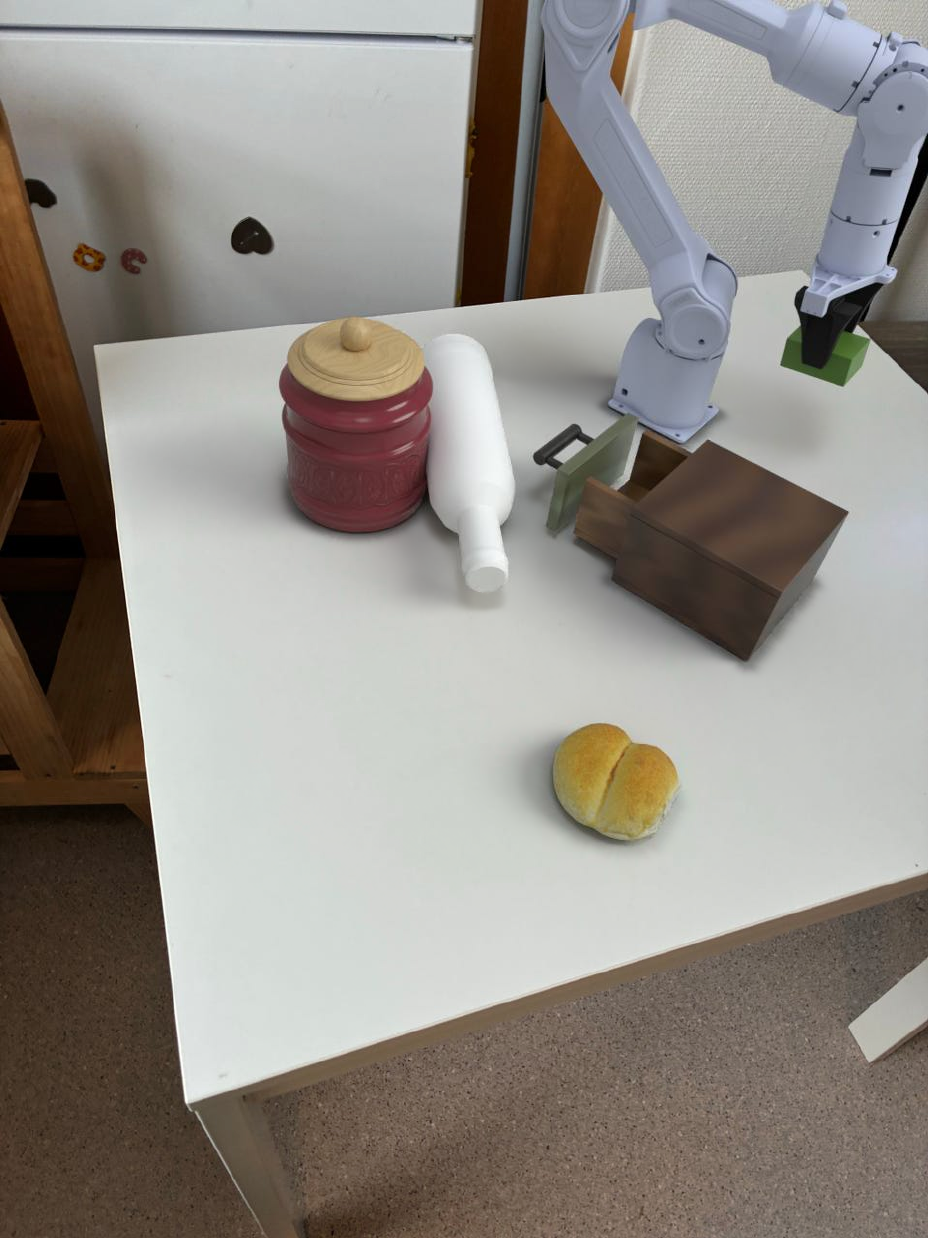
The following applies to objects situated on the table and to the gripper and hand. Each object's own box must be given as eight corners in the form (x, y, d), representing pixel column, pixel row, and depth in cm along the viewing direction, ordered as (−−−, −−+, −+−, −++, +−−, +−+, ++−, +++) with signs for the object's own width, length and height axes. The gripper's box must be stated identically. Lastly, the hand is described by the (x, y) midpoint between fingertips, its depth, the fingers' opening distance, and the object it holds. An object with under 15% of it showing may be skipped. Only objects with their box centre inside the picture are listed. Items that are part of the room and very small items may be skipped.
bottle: (501, 379, 94) (549, 590, 75) (433, 409, 96) (463, 623, 77) (470, 318, 89) (513, 531, 69) (399, 351, 91) (422, 567, 71)
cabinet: (611, 579, 80) (632, 507, 73) (682, 510, 87) (707, 438, 80) (747, 662, 75) (782, 592, 68) (811, 582, 81) (849, 511, 75)
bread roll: (580, 721, 69) (590, 690, 66) (686, 780, 67) (701, 750, 64) (526, 798, 65) (534, 768, 62) (638, 865, 62) (652, 838, 59)
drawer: (509, 504, 84) (518, 446, 79) (578, 449, 90) (591, 392, 85) (661, 596, 78) (682, 539, 72) (725, 530, 84) (748, 473, 79)
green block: (779, 365, 89) (786, 338, 86) (799, 346, 91) (806, 318, 89) (843, 387, 86) (852, 359, 84) (862, 366, 88) (871, 338, 86)
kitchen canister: (318, 552, 79) (307, 380, 66) (269, 463, 86) (250, 293, 73) (450, 514, 84) (465, 346, 70) (393, 433, 91) (397, 267, 78)
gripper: (878, 255, 72) (832, 401, 82) (941, 193, 79) (893, 334, 89) (794, 233, 75) (760, 376, 85) (863, 175, 82) (824, 313, 92)
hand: (823, 353), depth 87 cm, fingers closed on green block, 4 cm apart
